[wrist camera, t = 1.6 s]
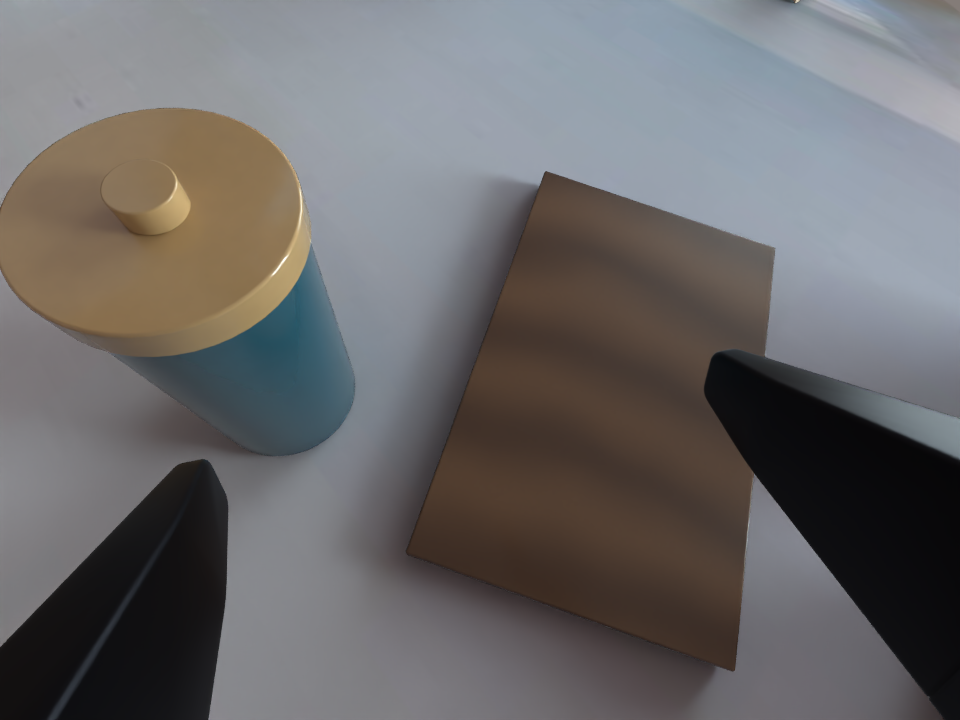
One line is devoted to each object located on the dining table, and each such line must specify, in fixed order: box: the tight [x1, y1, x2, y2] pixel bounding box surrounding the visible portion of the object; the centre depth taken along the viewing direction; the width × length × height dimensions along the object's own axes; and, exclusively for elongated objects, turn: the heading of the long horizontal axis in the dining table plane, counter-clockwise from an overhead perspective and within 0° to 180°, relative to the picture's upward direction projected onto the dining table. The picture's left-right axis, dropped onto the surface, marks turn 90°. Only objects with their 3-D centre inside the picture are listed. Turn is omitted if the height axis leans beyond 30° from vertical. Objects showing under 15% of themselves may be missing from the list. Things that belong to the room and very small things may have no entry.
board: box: [406, 171, 775, 671], centre depth 25 cm, size 22×14×1 cm, turn 162°
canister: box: [0, 108, 355, 456], centre depth 18 cm, size 7×7×14 cm
